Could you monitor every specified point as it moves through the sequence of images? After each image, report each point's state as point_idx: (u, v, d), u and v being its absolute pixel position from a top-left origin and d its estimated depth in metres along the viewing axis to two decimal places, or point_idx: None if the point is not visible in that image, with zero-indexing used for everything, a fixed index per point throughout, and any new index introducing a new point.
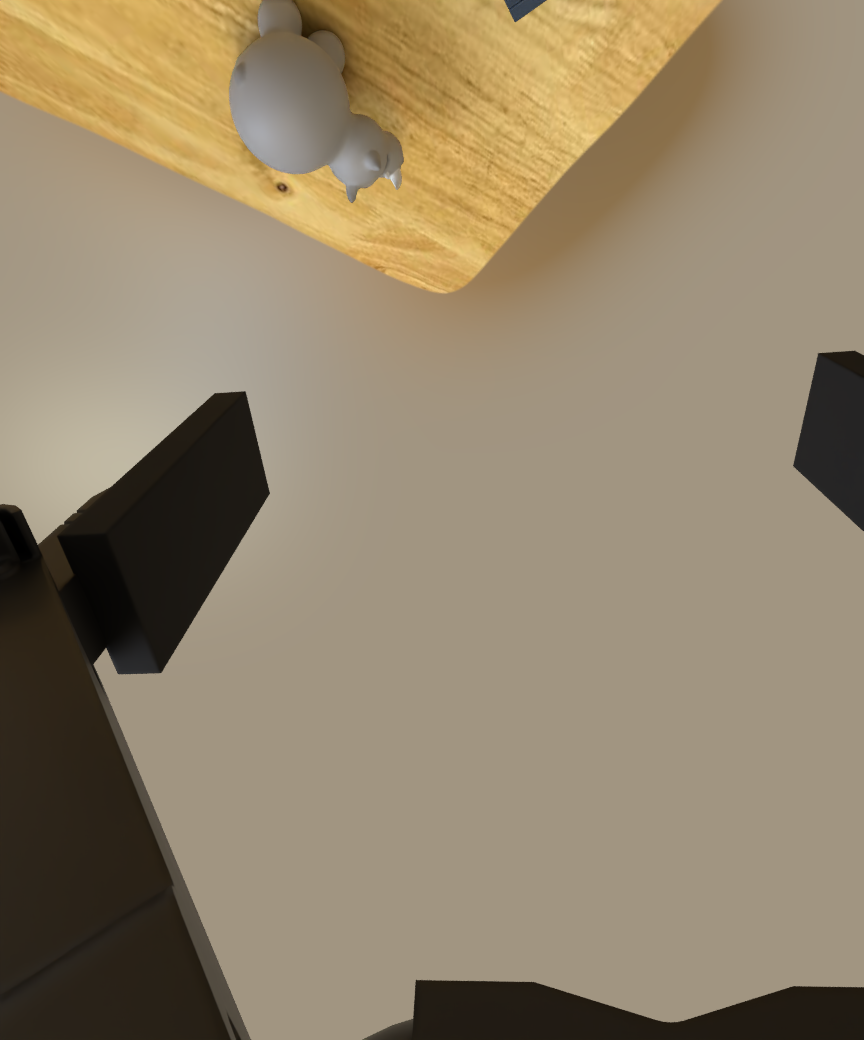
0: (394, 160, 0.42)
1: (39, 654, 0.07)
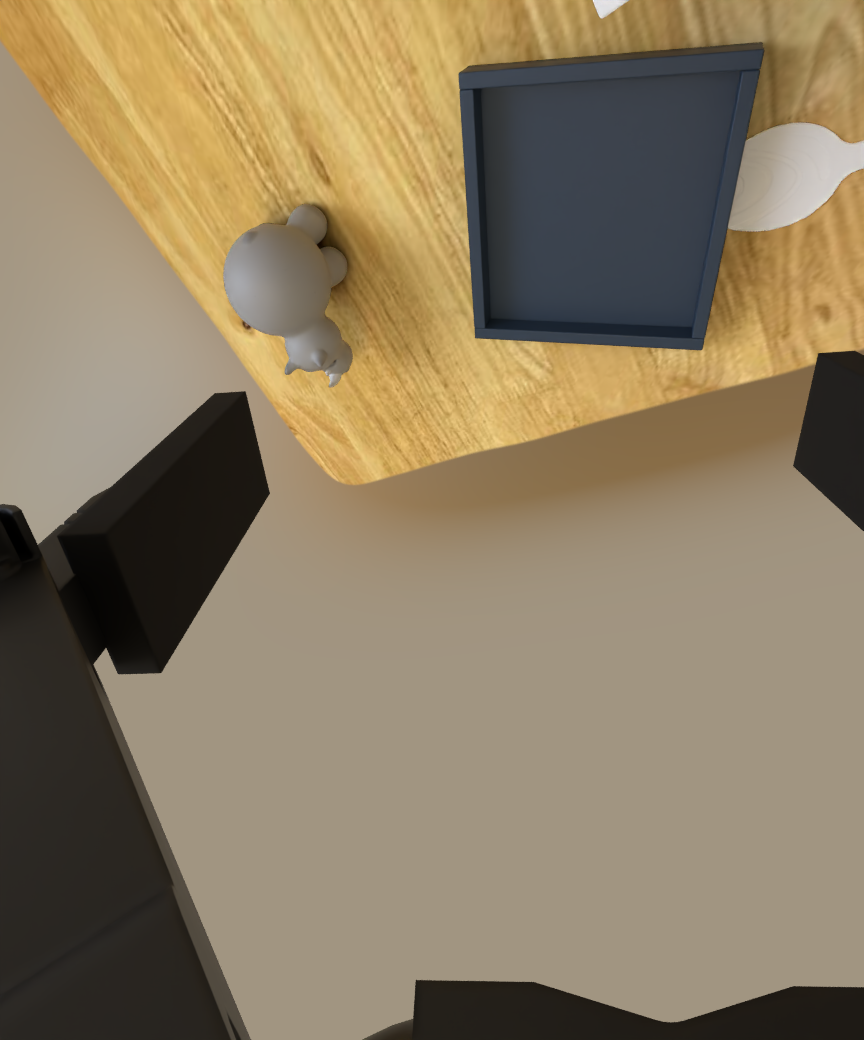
0: (339, 366, 0.47)
1: (38, 654, 0.07)
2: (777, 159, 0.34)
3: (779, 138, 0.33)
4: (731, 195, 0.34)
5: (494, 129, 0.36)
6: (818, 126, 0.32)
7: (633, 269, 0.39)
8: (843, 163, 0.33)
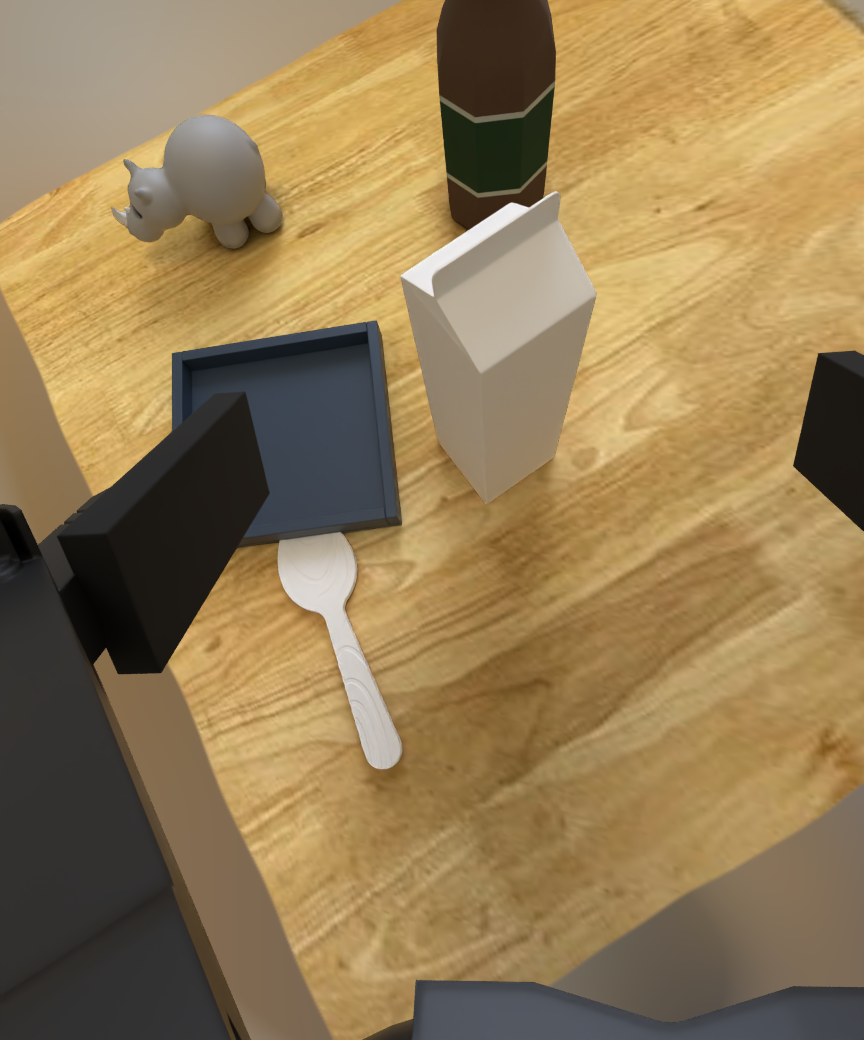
0: (135, 222, 0.47)
1: (39, 654, 0.07)
2: (330, 561, 0.43)
3: (344, 557, 0.43)
4: (303, 527, 0.42)
5: (342, 355, 0.47)
6: (353, 580, 0.42)
7: None
8: (329, 608, 0.42)
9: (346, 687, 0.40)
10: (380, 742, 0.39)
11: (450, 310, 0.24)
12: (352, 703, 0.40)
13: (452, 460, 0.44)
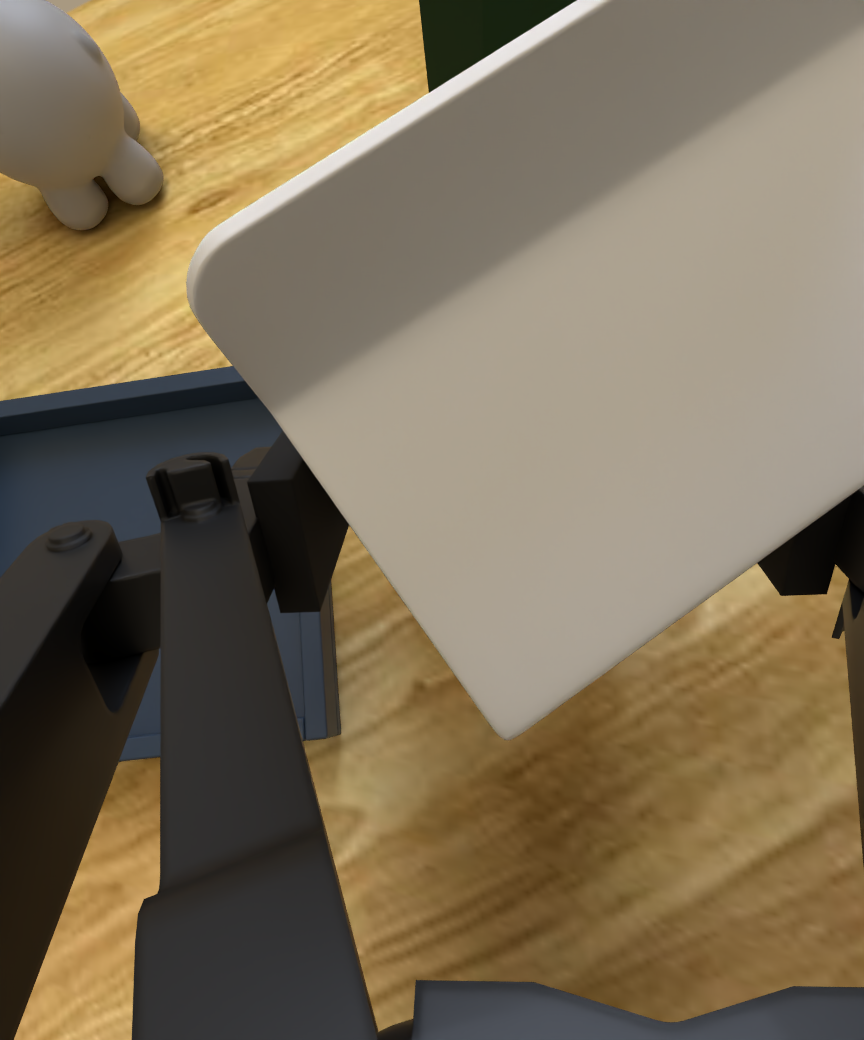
0: None
1: (229, 591, 0.08)
2: None
3: None
4: (150, 753, 0.22)
5: (247, 414, 0.27)
6: None
7: None
8: None
9: None
10: None
11: (354, 464, 0.05)
12: None
13: None
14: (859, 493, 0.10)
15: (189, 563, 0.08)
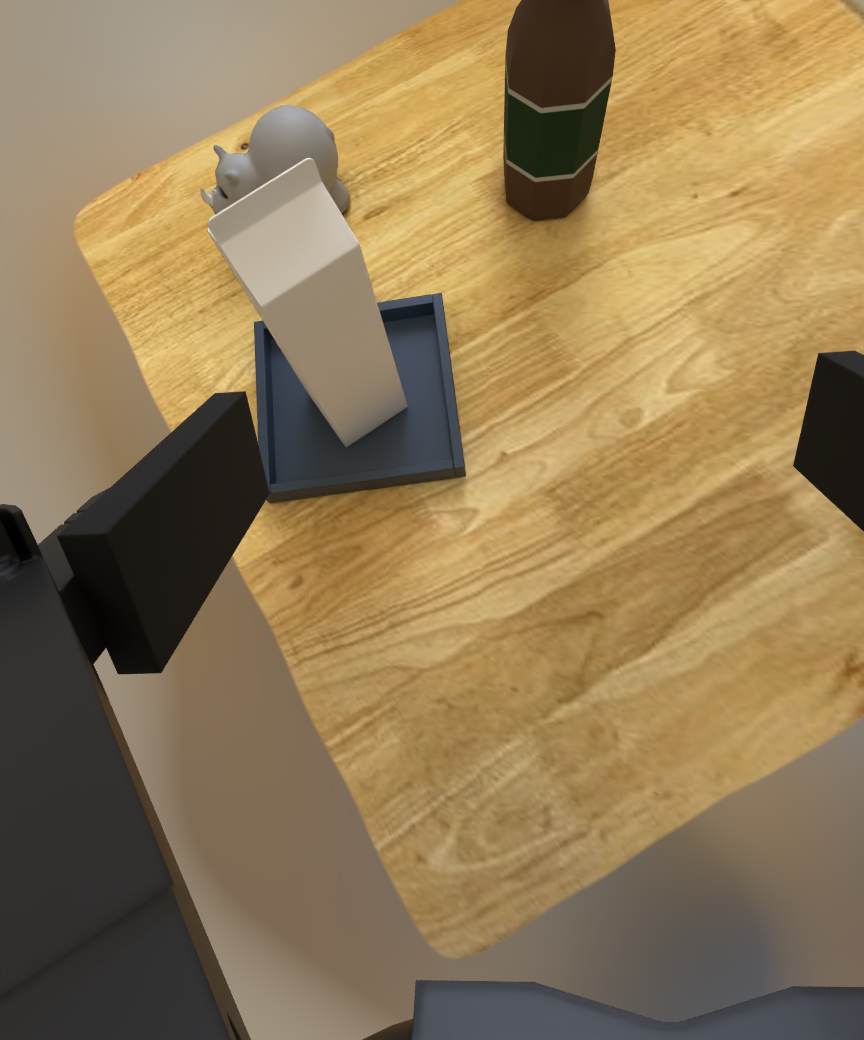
0: (220, 203, 0.52)
1: (39, 654, 0.07)
2: None
3: None
4: (379, 476, 0.46)
5: (408, 325, 0.51)
6: None
7: (319, 436, 0.50)
8: None
9: None
10: None
11: (232, 254, 0.30)
12: None
13: None
14: None
15: None
